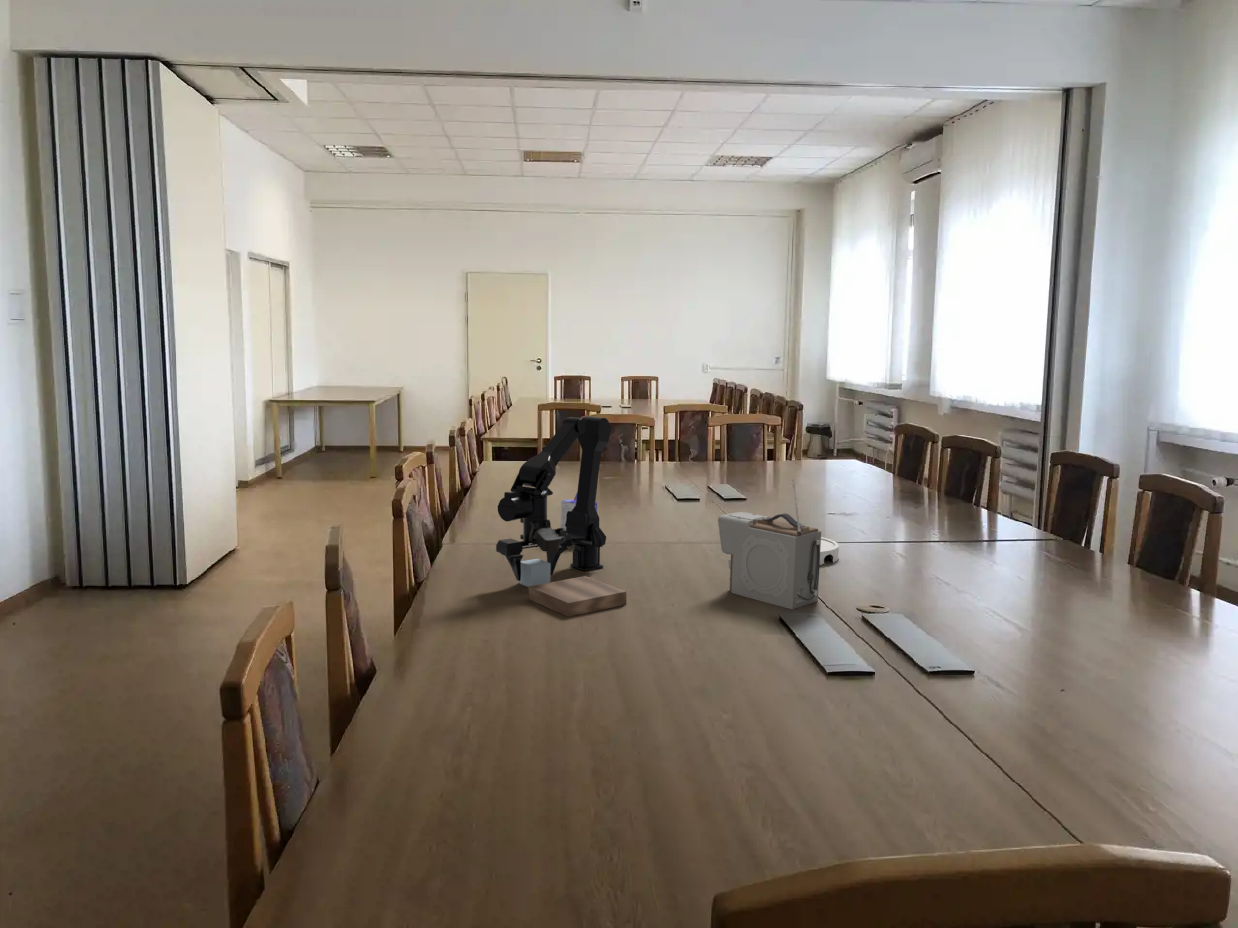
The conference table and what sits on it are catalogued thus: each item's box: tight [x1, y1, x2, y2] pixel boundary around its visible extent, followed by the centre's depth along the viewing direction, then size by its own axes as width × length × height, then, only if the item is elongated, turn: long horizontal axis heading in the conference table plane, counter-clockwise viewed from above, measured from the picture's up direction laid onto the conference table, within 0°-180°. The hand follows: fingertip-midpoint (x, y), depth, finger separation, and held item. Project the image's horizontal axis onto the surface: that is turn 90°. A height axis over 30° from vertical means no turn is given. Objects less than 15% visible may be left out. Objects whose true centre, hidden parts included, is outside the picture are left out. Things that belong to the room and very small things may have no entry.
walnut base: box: [528, 575, 627, 617], centre depth 207 cm, size 16×16×3 cm
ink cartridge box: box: [559, 493, 598, 534], centre depth 266 cm, size 10×6×14 cm, turn 59°
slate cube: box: [518, 558, 551, 588], centre depth 221 cm, size 6×6×6 cm
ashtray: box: [820, 536, 840, 566], centre depth 256 cm, size 23×23×4 cm
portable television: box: [717, 478, 822, 610], centre depth 213 cm, size 12×24×30 cm, turn 45°
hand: (534, 577), depth 221 cm, fingers open, 9 cm apart
